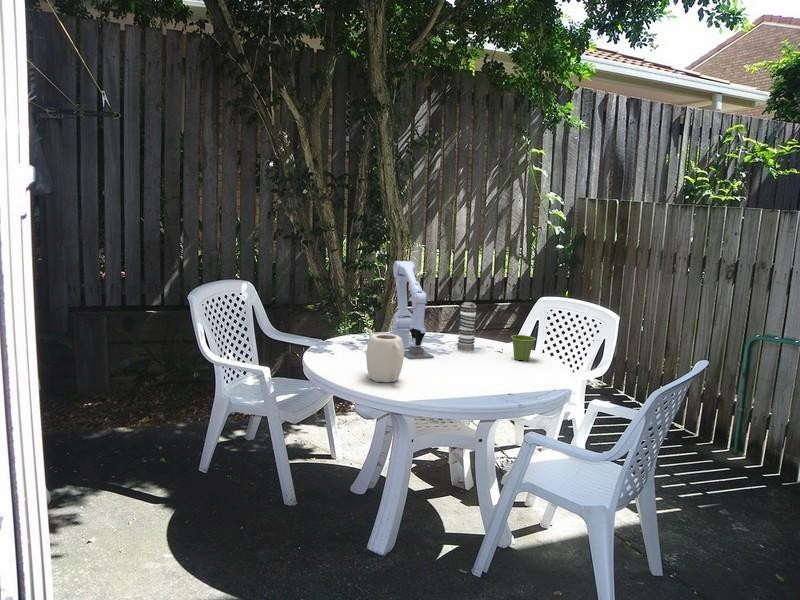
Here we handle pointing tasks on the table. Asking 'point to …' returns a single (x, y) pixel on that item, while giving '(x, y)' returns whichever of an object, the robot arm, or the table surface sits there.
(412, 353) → the grey socket base
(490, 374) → the table surface
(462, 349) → the decorative candle
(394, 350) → the cream ceramic pot
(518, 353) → the plant pot
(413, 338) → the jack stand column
